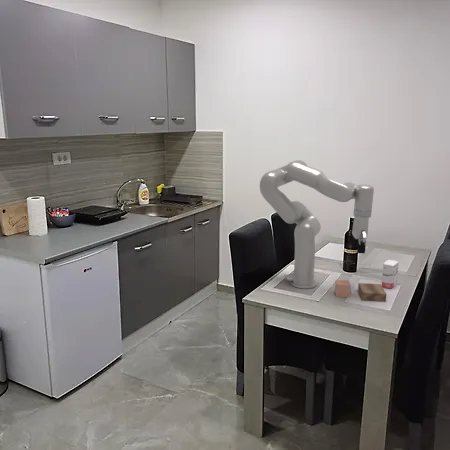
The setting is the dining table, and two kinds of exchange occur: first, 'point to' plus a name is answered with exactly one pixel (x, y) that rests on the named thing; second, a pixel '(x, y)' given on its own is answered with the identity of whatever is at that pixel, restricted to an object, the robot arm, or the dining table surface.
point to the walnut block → (371, 292)
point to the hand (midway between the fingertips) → (358, 249)
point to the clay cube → (342, 288)
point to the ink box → (390, 274)
